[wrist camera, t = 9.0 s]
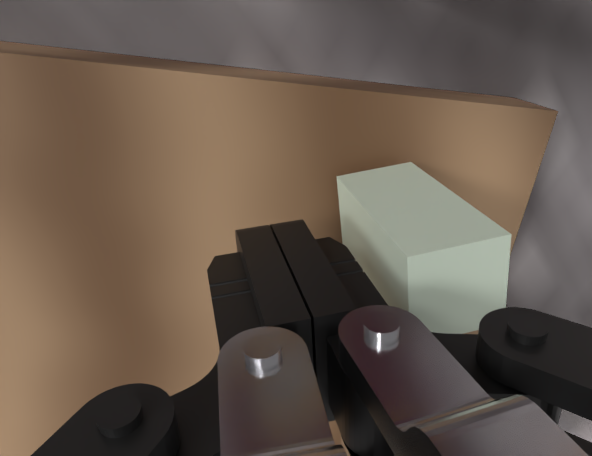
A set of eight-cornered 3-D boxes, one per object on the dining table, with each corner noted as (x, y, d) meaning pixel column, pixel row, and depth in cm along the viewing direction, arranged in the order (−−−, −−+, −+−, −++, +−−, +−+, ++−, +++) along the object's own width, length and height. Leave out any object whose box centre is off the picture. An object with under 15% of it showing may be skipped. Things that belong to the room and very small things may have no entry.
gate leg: (427, 470, 18) (495, 599, 14) (354, 491, 18) (403, 629, 14) (425, 159, 13) (531, 229, 9) (321, 179, 13) (385, 261, 9)
